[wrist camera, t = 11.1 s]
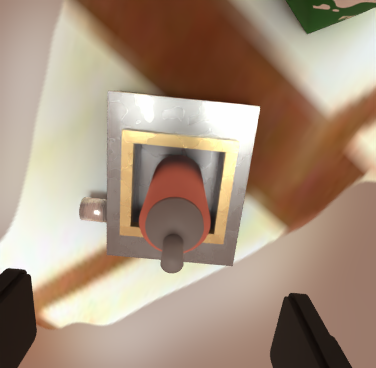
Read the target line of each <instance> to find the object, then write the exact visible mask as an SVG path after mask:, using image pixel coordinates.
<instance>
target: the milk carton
mask: <svg viewBox="0 0 376 368" xmlns="http://www.w3.org/2000/svg"><path fill="white" fill-rule="evenodd" d="M286 2H287V3H288V5H289V7H290V8H291V10H292V11H293V13H294V14H295V16H296V17H297V19H298V21H299V22H300V24H301V25H302V27H303V28H304V30H305V32H306V33H307V34H309V33H312V32H314V31H317V30H319V29H322V28H325V27H327V26H330V25H332V24H335V23H338V22H340V21H343V20H345V19H348V18H351V17H353V16H356V15H358V14H361V13H363V12H366V11H368V10H370V9H372V8H374V7H376V0H286Z"/></svg>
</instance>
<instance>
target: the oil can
mask: <svg viewBox="0 0 376 368" xmlns="http://www.w3.org/2000/svg"><path fill="white" fill-rule="evenodd" d="M210 223H211V221H210V214H209V209H208V204H207V199H206V194H205V188H204V183H203V178H202V173H201V170H200V168H199V166H198V164H197V163H196V162H195V161H194V160H192V159H191V158H189V157H187V156H184V155H171V156H168V157H166V158H164V159H163V160H162V161H161V162H160V163H159V164H158V165H157V167H156V169H155V172H154V175H153V178H152V180H151V183H150V186H149V189H148V192H147V195H146V198H145V201H144V204H143V207H142V210H141V213H140V216H139V226H140V230H141V233H142V235H143V237H144V239H145V240H146V241H147V242H148V243H149V244H150V245H151V246H152V247H154V248H155V249H157V250H159V251H162V255H161V267H162V269H163V270H164V271H165V272H168V273H176V272H179V271H180V270H181V269H182V267H183V253H186V252H189V251H191V250H193V249H195V248H196V247H198V246H199V245H200V244H201V243H202V242H203V241H204V240H205V239H206V237H207V235H208V233H209V230H210Z"/></svg>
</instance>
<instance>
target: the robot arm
mask: <svg viewBox="0 0 376 368" xmlns="http://www.w3.org/2000/svg"><path fill="white" fill-rule="evenodd" d="M36 332H37V329H36V319H35V310H34V301H33V291H32V282H31V276H30V275H29V274H27V272H26V270H23V269H11V268H8V269H6V270H4V271H3V272H2V273H1V274H0V368H17V367H18V366H19V364H20V362H21V361H22V359H23V358H24V356H25V355H26V353H27V351H28V350H29V348H30V347H31V345H32V343H33V342H34V340H35V337H36ZM270 358H271V363H272V366H273V368H352V367H351V365H350V363H349V361H348V360H347V358H346V356H345V355H344V353H343V351H342V350H341V347H340V346H339V344H338V342H337V341H336V340H335V338H334V337H333V336H331V335H330V334H329V332H328V330H327V329H326V327H325V325H324V323H323V321H322V320H321V318H320V316H319V314H318V312H317V311H316V309H315V307H314V305H313V304H312V302H311V300H310V298H309V297H308V295H306V294H298V293H290V294H289V296H288V297H284V300H283V304H282V307H281V311H280V315H279V319H278V323H277V327H276V331H275V334H274V338H273V342H272V346H271V351H270Z"/></svg>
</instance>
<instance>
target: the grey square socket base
mask: <svg viewBox="0 0 376 368" xmlns="http://www.w3.org/2000/svg"><path fill="white" fill-rule="evenodd" d="M259 111H260V106H255V105H250V104H241V103H231V102H221V101H211V100H202V99H192V98H182V97H172V96H162V95H153V94H143V93H133V92H123V91H108V119H107V199H99V198H89V197H84V198H83V199H82V201H81V204H80V209H79V216H80V219H81V220H86V221H97V222H107V255H114V256H125V257H136V258H148V259H159V260H161V255H162V251H159V250H157V249H155V248H154V247H152V246H151V245H150V244H149V243H148V242H147V241H146V240H145V239H144V237H143V235H142V233H141V230H140V226H139V216H140V213H141V210H142V207H143V204H144V201H145V198H146V195H147V192H148V189H149V186H150V183H151V180H152V178H153V175H154V172H155V169H156V167H157V165H158V164H159V163H160V162H161V161H162V160H163V159H164V158H166V157H168V156H171V155H184V156H187V157H189V158H191V159H192V160H194V161H195V162H196V163H197V164H198V166H199V168H200V170H201V173H202V178H203V183H204V188H205V194H206V199H207V204H208V209H209V214H210V221H211V223H210V230H209V233H208V235H207V237H206V239H205V240H204V241H203V242H202V243H201V244H200V245H199V246H198V247H196V248H195V249H193V250H191V251H189V252H186V253H183V262H192V263H204V264H215V265H226V266H233V261H234V255H235V249H236V243H237V238H238V232H239V226H240V220H241V215H242V209H243V203H244V197H245V191H246V186H247V180H248V174H249V168H250V163H251V157H252V151H253V145H254V140H255V134H256V128H257V122H258V117H259Z"/></svg>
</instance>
